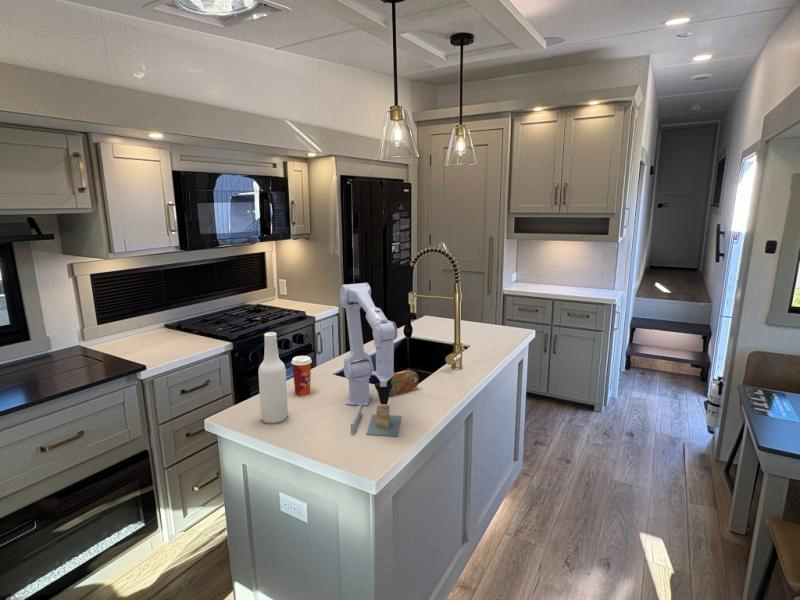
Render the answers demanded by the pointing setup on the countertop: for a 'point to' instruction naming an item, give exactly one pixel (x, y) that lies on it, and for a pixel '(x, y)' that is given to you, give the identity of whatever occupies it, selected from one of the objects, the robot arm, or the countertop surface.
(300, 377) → the paper cup
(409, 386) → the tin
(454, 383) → the countertop surface
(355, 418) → the low wall
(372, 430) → the mat
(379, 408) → the oak block
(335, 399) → the countertop surface
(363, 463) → the countertop surface
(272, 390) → the alcohol
